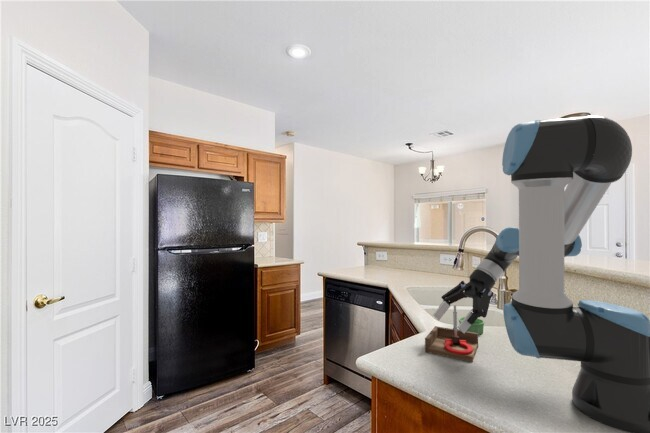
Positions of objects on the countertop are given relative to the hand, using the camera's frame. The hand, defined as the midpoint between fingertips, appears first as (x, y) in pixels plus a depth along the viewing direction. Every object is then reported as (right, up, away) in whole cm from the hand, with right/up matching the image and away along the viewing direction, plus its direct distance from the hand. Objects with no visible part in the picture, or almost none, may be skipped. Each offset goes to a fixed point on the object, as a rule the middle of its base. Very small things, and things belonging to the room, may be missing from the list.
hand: (447, 323), depth 102 cm
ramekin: (+16, -9, +17) cm, 26 cm away
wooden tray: (+2, -9, +1) cm, 9 cm away
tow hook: (+2, -7, -3) cm, 8 cm away
